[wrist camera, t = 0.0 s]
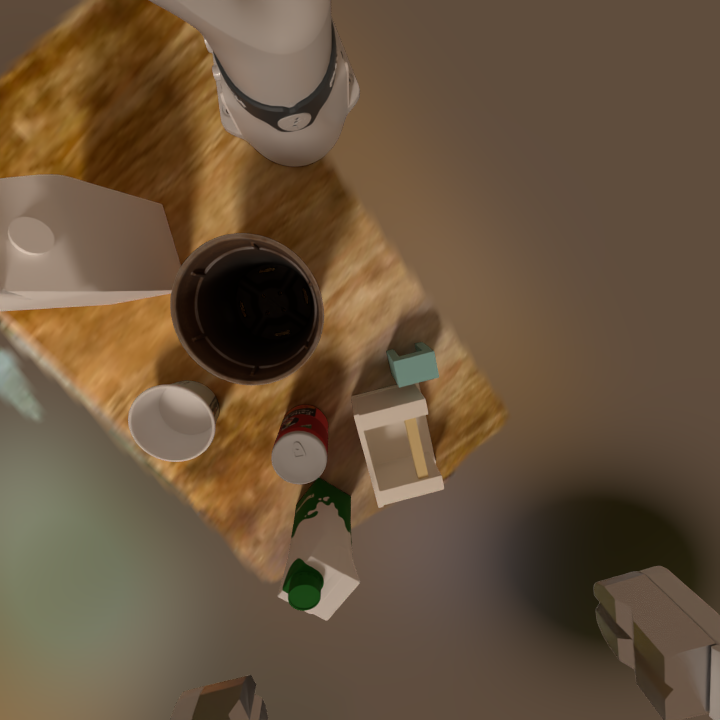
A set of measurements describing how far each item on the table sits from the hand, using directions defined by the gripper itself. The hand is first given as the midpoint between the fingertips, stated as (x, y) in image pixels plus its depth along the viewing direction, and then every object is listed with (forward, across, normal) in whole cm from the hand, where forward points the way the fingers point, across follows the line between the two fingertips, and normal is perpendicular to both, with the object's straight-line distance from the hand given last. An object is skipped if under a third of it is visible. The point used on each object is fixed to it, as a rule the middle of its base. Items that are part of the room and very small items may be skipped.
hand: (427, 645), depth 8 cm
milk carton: (+48, +12, +29) cm, 58 cm away
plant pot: (+48, +10, -7) cm, 50 cm away
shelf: (+48, -3, +19) cm, 52 cm away
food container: (+48, +28, +6) cm, 56 cm away
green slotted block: (+48, -8, +7) cm, 49 cm away
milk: (+48, +27, -18) cm, 58 cm away
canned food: (+48, +11, +14) cm, 51 cm away
